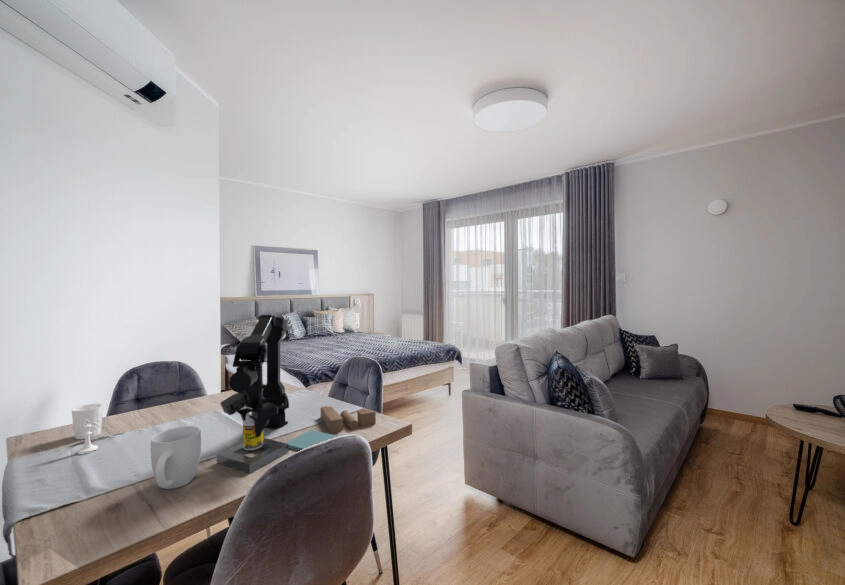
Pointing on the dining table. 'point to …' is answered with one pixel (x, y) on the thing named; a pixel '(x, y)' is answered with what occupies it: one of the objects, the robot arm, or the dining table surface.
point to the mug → (176, 456)
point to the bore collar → (247, 464)
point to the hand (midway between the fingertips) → (253, 433)
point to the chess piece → (87, 439)
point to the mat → (308, 439)
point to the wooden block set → (346, 418)
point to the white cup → (82, 414)
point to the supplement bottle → (251, 435)
